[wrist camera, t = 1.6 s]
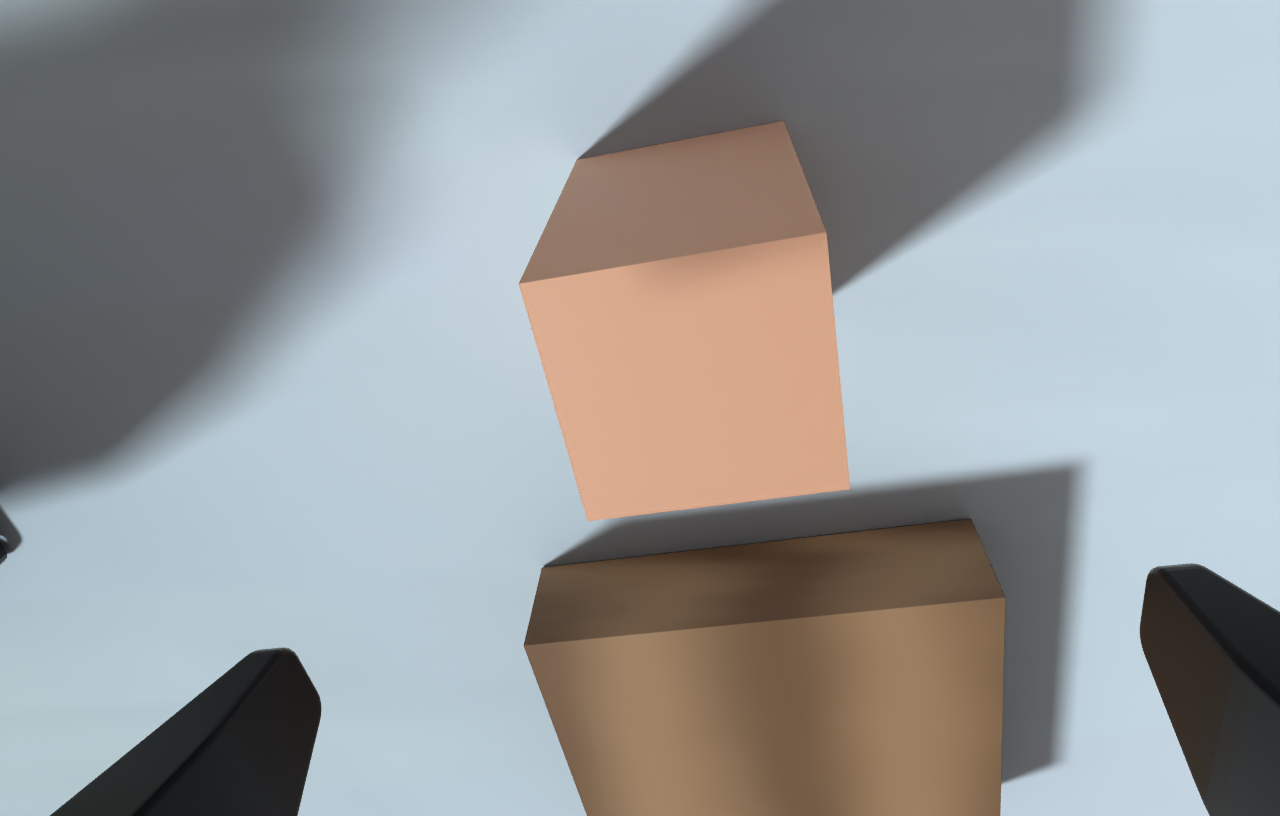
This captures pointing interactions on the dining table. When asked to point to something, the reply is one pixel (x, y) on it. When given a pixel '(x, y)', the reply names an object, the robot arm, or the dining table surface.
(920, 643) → the walnut base
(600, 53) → the dining table surface
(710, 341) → the terracotta block
